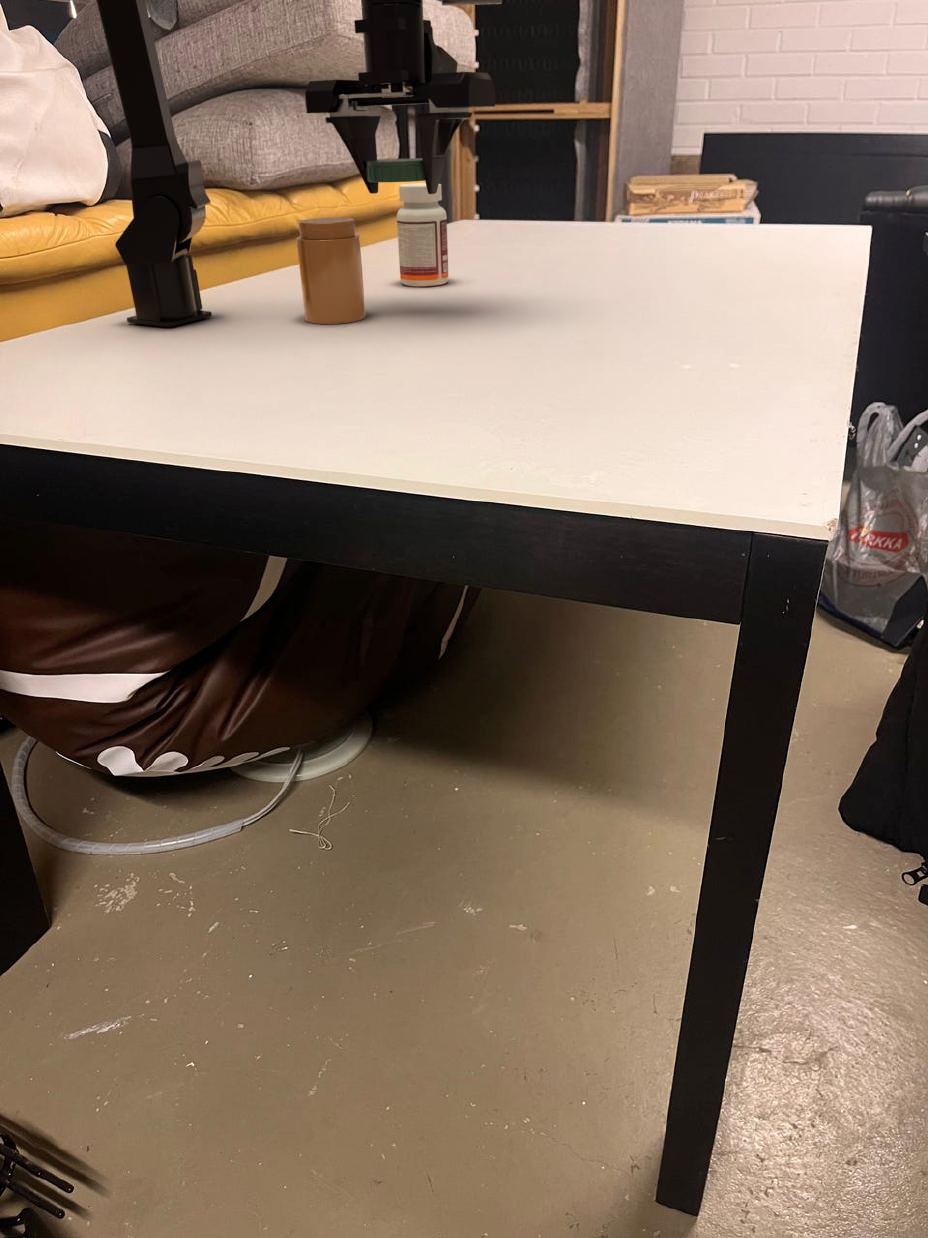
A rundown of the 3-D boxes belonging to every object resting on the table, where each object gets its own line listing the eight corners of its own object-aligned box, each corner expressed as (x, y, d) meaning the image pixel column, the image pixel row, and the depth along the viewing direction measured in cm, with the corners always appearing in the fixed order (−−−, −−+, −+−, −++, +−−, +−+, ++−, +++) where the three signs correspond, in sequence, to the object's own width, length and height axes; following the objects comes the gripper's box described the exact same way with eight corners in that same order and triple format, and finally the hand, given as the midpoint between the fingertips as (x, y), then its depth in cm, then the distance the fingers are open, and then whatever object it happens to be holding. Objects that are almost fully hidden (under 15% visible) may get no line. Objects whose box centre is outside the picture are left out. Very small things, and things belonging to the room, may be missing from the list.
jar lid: (399, 177, 92) (398, 158, 92) (450, 177, 89) (449, 157, 88) (352, 181, 88) (351, 161, 87) (404, 182, 84) (403, 161, 83)
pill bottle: (429, 277, 115) (425, 181, 110) (458, 282, 111) (455, 183, 105) (390, 283, 112) (384, 185, 106) (419, 288, 108) (414, 186, 102)
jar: (341, 326, 89) (332, 224, 84) (292, 321, 92) (281, 222, 87) (377, 314, 94) (370, 217, 89) (330, 310, 97) (321, 216, 92)
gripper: (520, 5, 83) (520, 188, 91) (360, 21, 91) (372, 187, 99) (463, -6, 75) (468, 196, 82) (292, 12, 83) (311, 195, 91)
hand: (402, 193), depth 89 cm, fingers closed on jar lid, 7 cm apart
